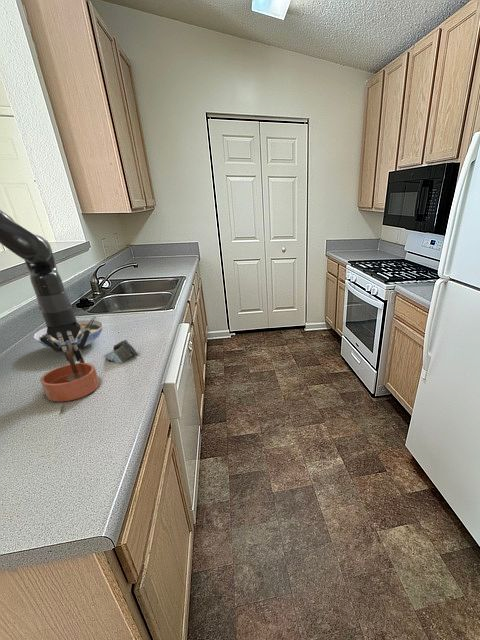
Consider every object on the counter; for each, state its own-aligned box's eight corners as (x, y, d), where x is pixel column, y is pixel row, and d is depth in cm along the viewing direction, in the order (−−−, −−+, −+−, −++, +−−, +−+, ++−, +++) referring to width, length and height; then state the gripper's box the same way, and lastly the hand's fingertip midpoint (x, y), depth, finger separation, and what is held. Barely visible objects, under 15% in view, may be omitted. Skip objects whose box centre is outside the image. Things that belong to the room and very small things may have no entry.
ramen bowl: (52, 339, 138) (45, 320, 134) (113, 332, 144) (108, 314, 140) (29, 365, 116) (20, 344, 113) (101, 355, 122) (95, 335, 119)
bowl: (43, 408, 92) (35, 389, 90) (51, 385, 103) (44, 368, 101) (99, 395, 98) (92, 378, 95) (100, 375, 109) (95, 359, 106)
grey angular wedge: (98, 360, 120) (101, 345, 111) (113, 347, 125) (117, 332, 116) (120, 376, 122) (125, 363, 113) (134, 363, 126) (140, 350, 117)
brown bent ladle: (87, 386, 100) (76, 356, 95) (68, 390, 98) (56, 360, 93) (91, 361, 114) (81, 335, 110) (74, 365, 112) (65, 337, 108)
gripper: (84, 301, 102) (100, 352, 110) (30, 308, 96) (51, 361, 104) (82, 307, 96) (99, 361, 104) (25, 315, 90) (47, 371, 98)
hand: (75, 360), depth 104 cm, fingers closed on brown bent ladle, 1 cm apart
